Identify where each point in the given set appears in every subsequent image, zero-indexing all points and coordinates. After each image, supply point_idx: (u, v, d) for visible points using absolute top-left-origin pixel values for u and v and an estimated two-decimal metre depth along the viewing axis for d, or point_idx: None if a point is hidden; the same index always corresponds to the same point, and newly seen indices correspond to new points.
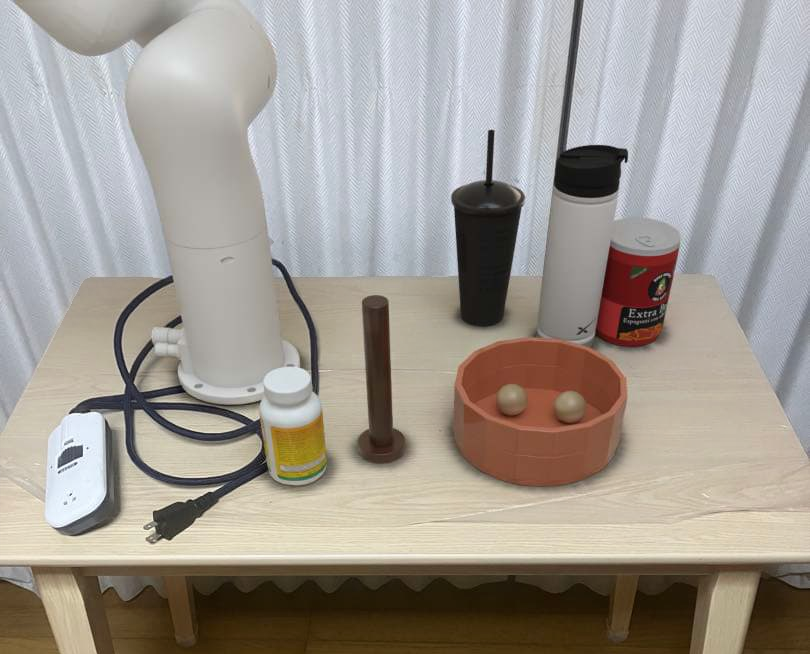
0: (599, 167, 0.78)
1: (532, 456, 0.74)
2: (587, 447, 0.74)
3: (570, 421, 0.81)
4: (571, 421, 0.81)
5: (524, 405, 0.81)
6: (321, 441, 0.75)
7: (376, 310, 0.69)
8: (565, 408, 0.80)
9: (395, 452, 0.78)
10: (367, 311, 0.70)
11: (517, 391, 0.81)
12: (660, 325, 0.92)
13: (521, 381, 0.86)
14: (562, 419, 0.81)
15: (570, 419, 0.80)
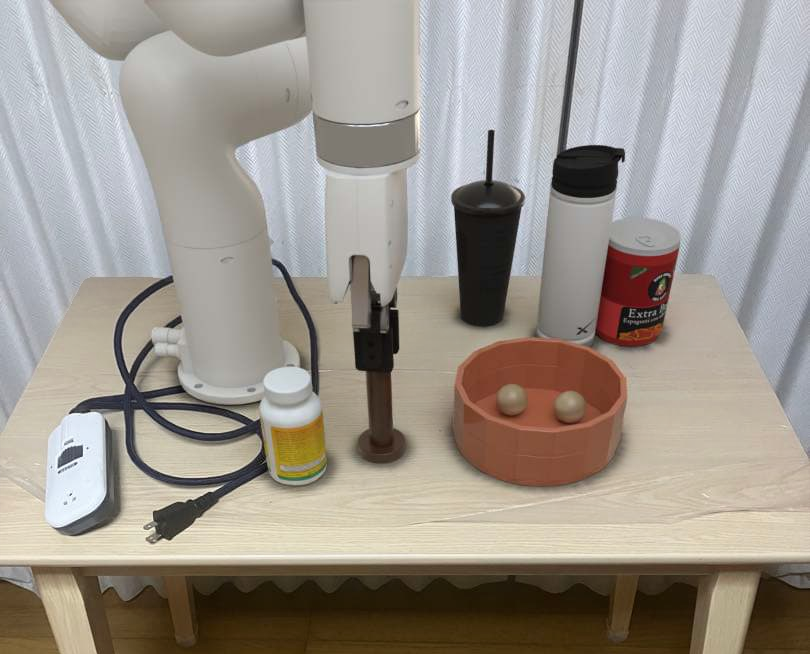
0: (595, 167, 0.78)
1: (532, 456, 0.74)
2: (587, 447, 0.74)
3: (570, 421, 0.81)
4: (571, 421, 0.81)
5: (524, 405, 0.81)
6: (321, 441, 0.75)
7: None
8: (565, 408, 0.80)
9: (395, 452, 0.78)
10: None
11: (517, 391, 0.81)
12: (660, 325, 0.92)
13: (521, 381, 0.86)
14: (562, 419, 0.81)
15: (570, 419, 0.80)
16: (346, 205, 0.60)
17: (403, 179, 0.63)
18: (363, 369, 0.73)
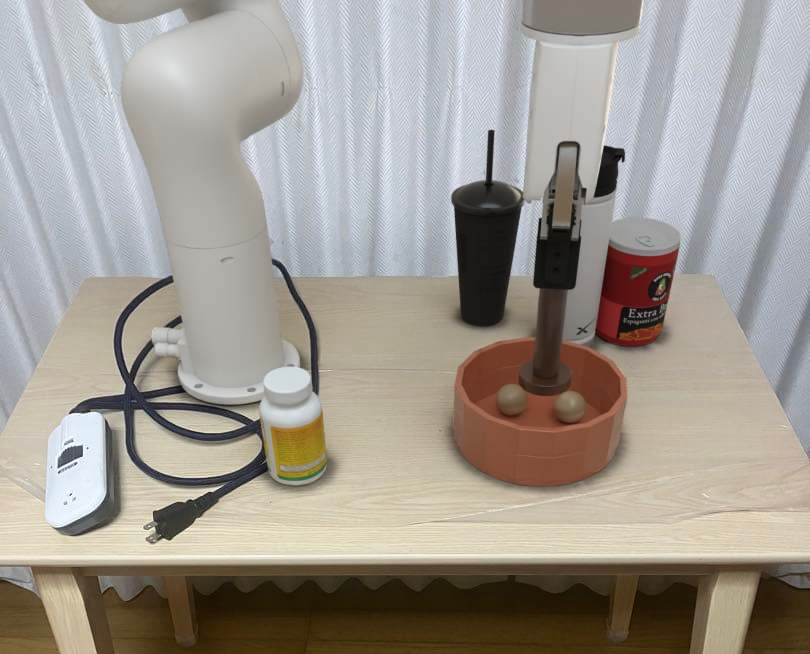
0: None
1: (532, 456, 0.74)
2: (587, 447, 0.74)
3: (570, 421, 0.81)
4: (571, 421, 0.81)
5: (524, 405, 0.81)
6: (321, 441, 0.75)
7: None
8: (565, 408, 0.80)
9: (563, 384, 0.71)
10: None
11: (517, 391, 0.81)
12: (660, 325, 0.92)
13: None
14: (562, 419, 0.81)
15: (570, 419, 0.80)
16: (563, 80, 0.53)
17: None
18: (542, 286, 0.66)
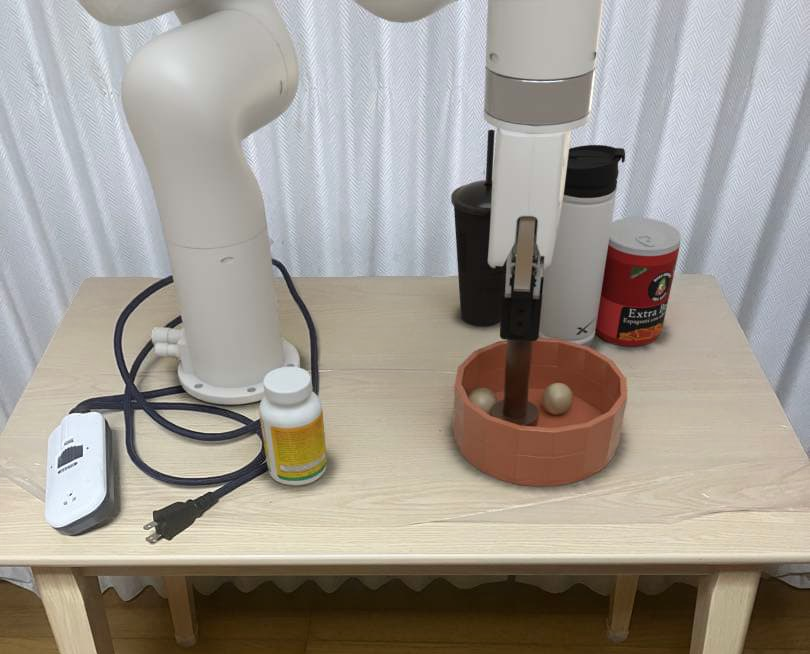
0: (596, 167, 0.78)
1: (532, 456, 0.74)
2: (587, 447, 0.74)
3: (545, 408, 0.82)
4: (546, 409, 0.82)
5: (477, 393, 0.81)
6: (321, 441, 0.75)
7: None
8: (555, 401, 0.81)
9: (530, 423, 0.77)
10: None
11: None
12: (660, 325, 0.92)
13: None
14: (543, 401, 0.82)
15: (547, 408, 0.82)
16: (520, 164, 0.59)
17: None
18: (507, 337, 0.72)
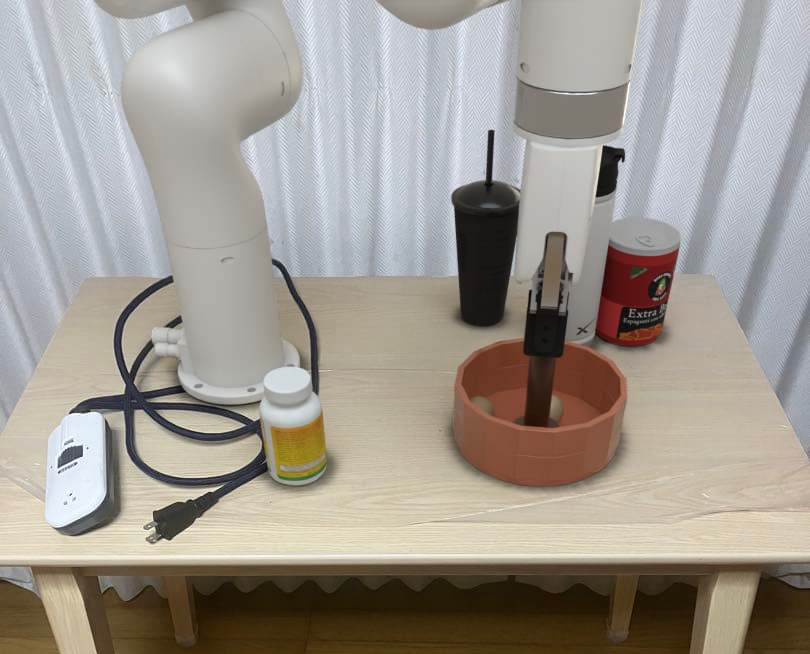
0: None
1: (532, 456, 0.74)
2: (587, 447, 0.74)
3: None
4: None
5: None
6: (321, 441, 0.75)
7: None
8: None
9: None
10: None
11: (471, 400, 0.80)
12: (660, 325, 0.92)
13: (521, 381, 0.86)
14: None
15: None
16: (551, 178, 0.57)
17: None
18: (531, 354, 0.70)
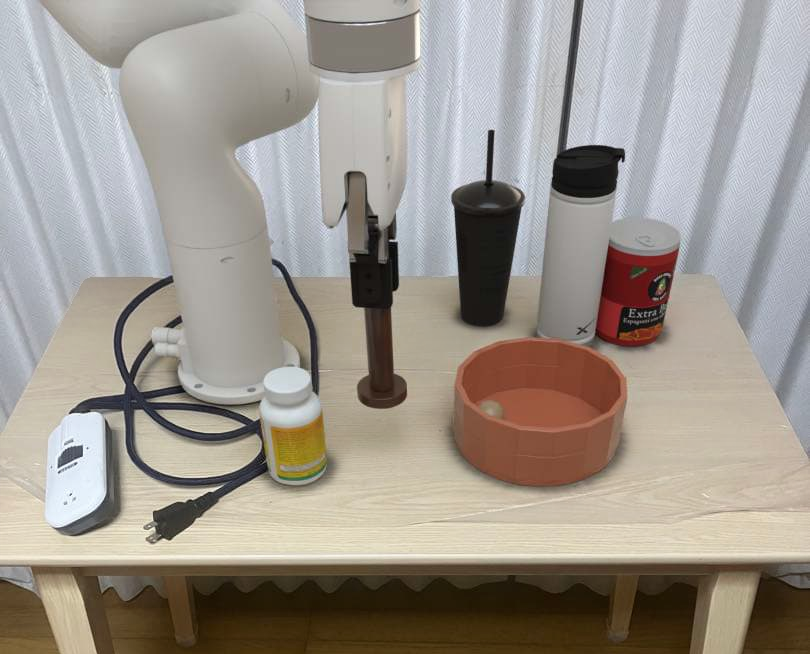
0: (596, 167, 0.78)
1: (532, 456, 0.74)
2: (587, 447, 0.74)
3: None
4: None
5: None
6: (321, 441, 0.75)
7: None
8: None
9: (396, 397, 0.74)
10: None
11: (492, 408, 0.79)
12: (660, 325, 0.92)
13: (521, 381, 0.86)
14: None
15: None
16: (341, 114, 0.56)
17: (402, 91, 0.59)
18: (360, 305, 0.69)
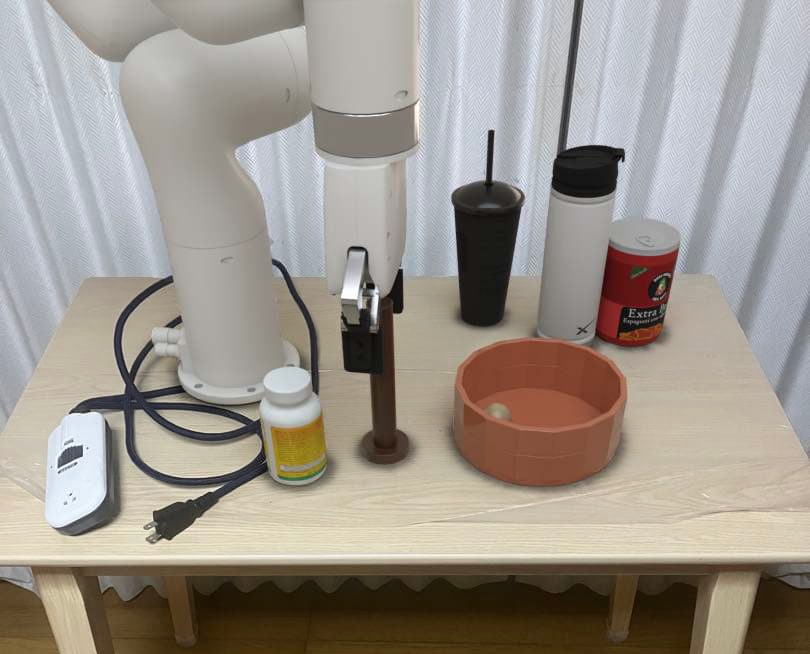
0: (595, 167, 0.78)
1: (532, 456, 0.74)
2: (587, 447, 0.74)
3: None
4: None
5: None
6: (321, 441, 0.75)
7: (380, 311, 0.69)
8: None
9: (398, 453, 0.78)
10: None
11: (504, 417, 0.79)
12: (660, 325, 0.92)
13: (521, 381, 0.86)
14: None
15: None
16: (345, 196, 0.60)
17: (402, 170, 0.63)
18: (352, 370, 0.69)
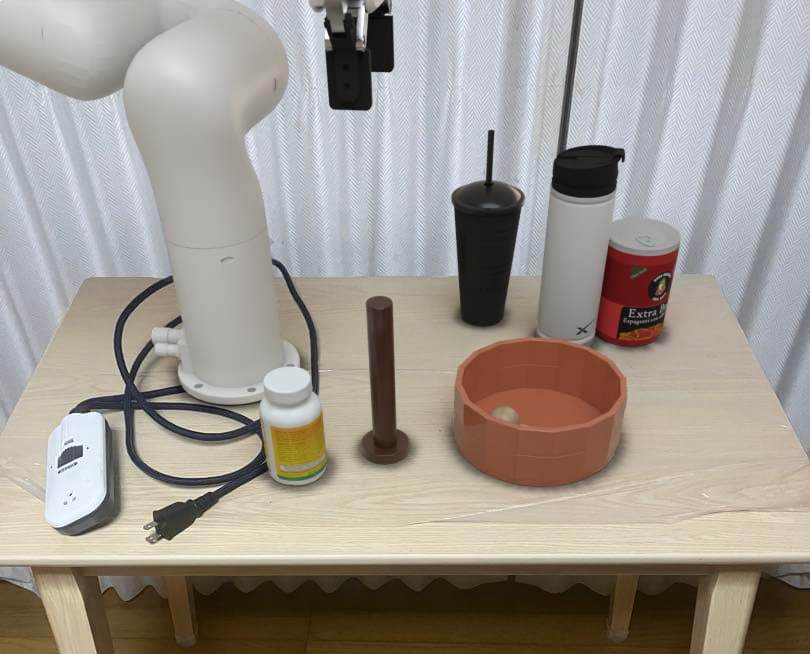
0: (596, 167, 0.78)
1: (532, 456, 0.74)
2: (587, 447, 0.74)
3: None
4: None
5: None
6: (321, 441, 0.75)
7: (380, 311, 0.69)
8: None
9: (398, 453, 0.78)
10: (371, 312, 0.70)
11: None
12: (660, 325, 0.92)
13: (521, 381, 0.86)
14: None
15: None
16: None
17: None
18: (338, 107, 0.64)
